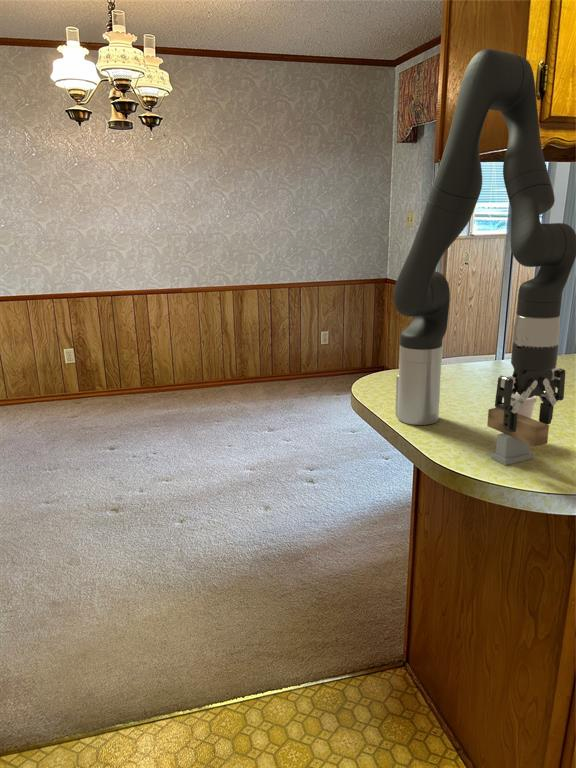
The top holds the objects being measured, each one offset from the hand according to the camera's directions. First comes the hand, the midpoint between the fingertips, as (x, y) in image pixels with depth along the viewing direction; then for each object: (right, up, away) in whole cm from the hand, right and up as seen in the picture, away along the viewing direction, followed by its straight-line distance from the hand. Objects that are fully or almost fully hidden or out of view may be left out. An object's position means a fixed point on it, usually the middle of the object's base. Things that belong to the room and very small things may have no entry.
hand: (527, 427), depth 111 cm
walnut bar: (-1, -2, +3) cm, 3 cm away
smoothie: (+3, -4, +14) cm, 15 cm away
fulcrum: (-1, -6, +5) cm, 8 cm away
